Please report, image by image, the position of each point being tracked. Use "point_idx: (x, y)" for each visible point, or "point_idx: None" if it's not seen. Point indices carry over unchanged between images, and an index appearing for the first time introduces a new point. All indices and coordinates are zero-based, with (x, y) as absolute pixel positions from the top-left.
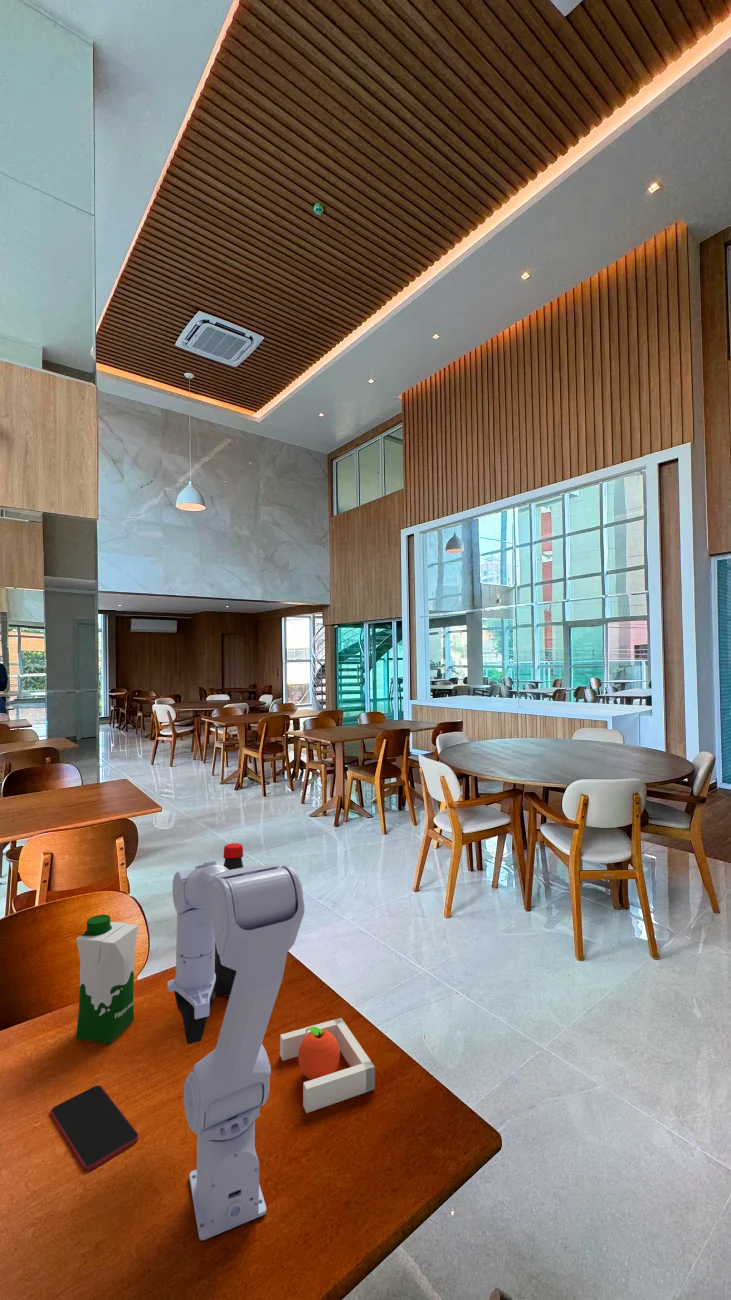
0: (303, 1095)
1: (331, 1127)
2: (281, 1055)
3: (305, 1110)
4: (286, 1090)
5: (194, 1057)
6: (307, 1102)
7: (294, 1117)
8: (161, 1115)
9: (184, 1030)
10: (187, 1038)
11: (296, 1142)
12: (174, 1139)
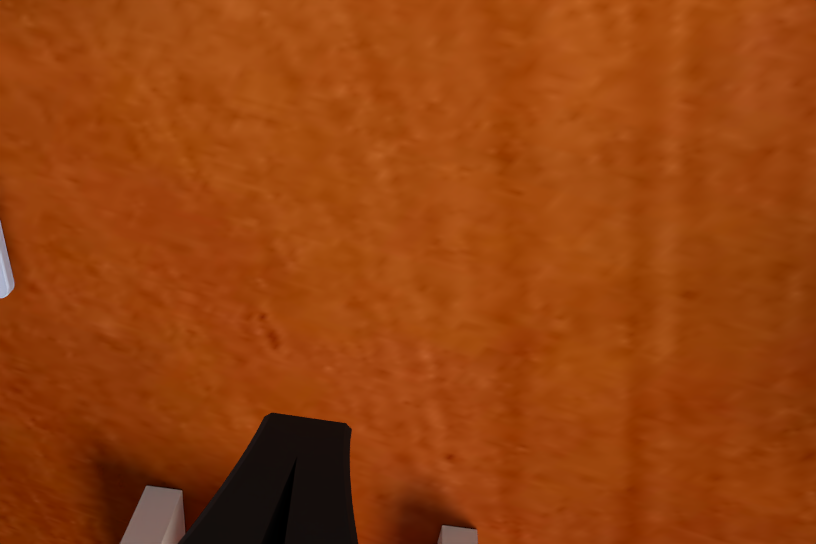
0: (167, 524)
1: (59, 509)
2: (457, 538)
3: (155, 489)
4: None
5: (743, 292)
6: (133, 518)
7: (144, 455)
8: (431, 36)
9: (322, 485)
10: (244, 455)
11: (30, 421)
12: (226, 54)
